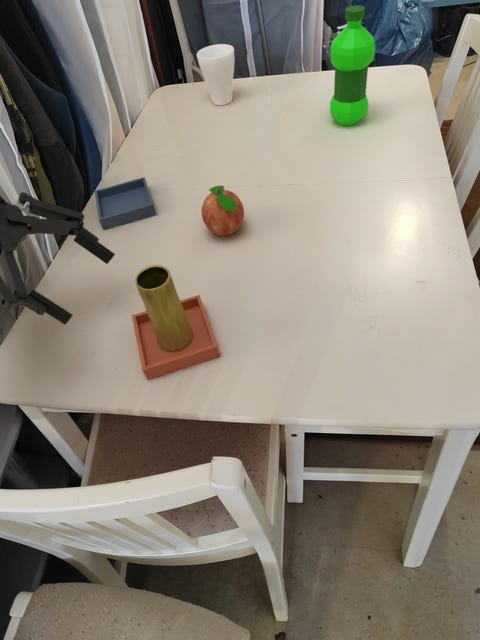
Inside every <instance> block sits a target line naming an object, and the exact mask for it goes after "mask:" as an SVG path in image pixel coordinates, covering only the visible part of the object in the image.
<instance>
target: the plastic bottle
mask: <svg viewBox="0 0 480 640" xmlns="http://www.w3.org/2000/svg"><path fill="white" fill-rule="evenodd" d="M344 12H345V14H344V21H346V26H345V27H344V28H343V29H342V30H341V31H340V32H339V33H338V34H337V35H336V36H335V37H334V38H333V39H332V42H331V44H330V51H329V52H330V58H329V59H330V63H331V66H333V67H334V86H333V88H334V89H333V95H332V97H331V98H330V102H329V113H330V117H331V118H332V119H333V120H335V121H336V122H337V123H338V125H339V124H340V125H341V126H346V127H347V126H349V127H350V126H353V125H355V124H357V123H358V122H359V121H360V120H361V119H363V118H364V117H365V116H366V115H367V113H368V111H369V100H368V96H367V84H368V83H367V81H368V72H369V65H371V63H372V62H373V61H374V58H375V55H376V41H375V38H374V36H373V35H372V34H371V33H370V31H368V30H367V29H366V28H365V27H364V26H363V25H362V21H363V20H365V15H366V13H365V12H366V7H365V6H363V5H351V6H347V7H346V8H345V10H344Z"/></svg>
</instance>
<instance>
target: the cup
mask: <svg viewBox="0 0 480 640" xmlns="http://www.w3.org/2000/svg"><path fill="white" fill-rule="evenodd" d="M196 58H197V62H198V65H199V69H200V72H201V74H202V77H203V79H204V81H205V84H206V86H207V89H208V91H209V94H210V98H211V102H212V104H213V105H215V106H227V105H228V104H230V103H232V101H233V84H234V83H233V82H234V74H235V59H236V58H235V48H234V46H232V45H230V44H227V43H226V44H225V43H219V44H212V45H207V46H205V47H203V48H201V49H199V50H198V51H197V52H196Z"/></svg>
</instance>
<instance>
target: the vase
mask: <svg viewBox="0 0 480 640" xmlns="http://www.w3.org/2000/svg"><path fill="white" fill-rule="evenodd" d="M134 283H135V286H136V289H137V291H138V294H139V296H140V299H141V301H142V304H143V305H144V308H145V311H147V313H148V315H149V318H150V320H151V322H152V325H153V328H154V331H155V334H156V337H157V342H158V344H159V346H160V347H161V348H162V349H164V350H167V351H178V350H181V349H183V348H185V347H186V346H187V345H188V344H189V343H190V342H191V340H192V337H193V331H192V328H191V327H190V325H189V323H188V320H187V317H186V314H185V312H184V309H183V307H182V304H181V302H180V300H181V299H180V297H179V294H178V292H177V289H176V286H175V283H174V280H173V278H172V274H171V271H170V269H168V267H166V266H164V265H160V264H154V265H149V266H146V267H144V268H143V269H142V270H140V271H139V272H138V273H137V274H136V277H135V279H134Z"/></svg>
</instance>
